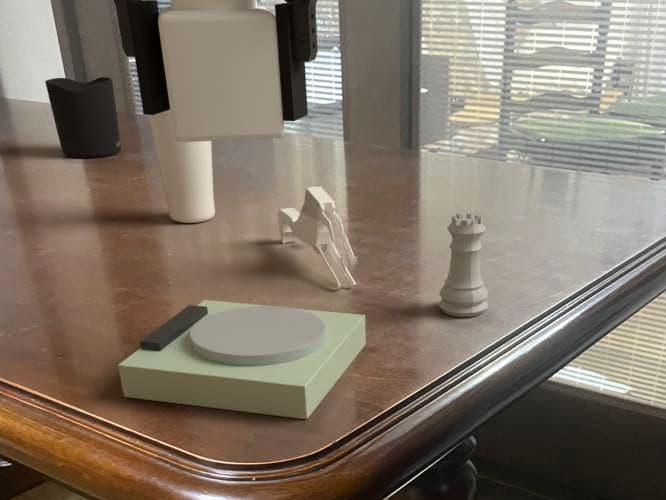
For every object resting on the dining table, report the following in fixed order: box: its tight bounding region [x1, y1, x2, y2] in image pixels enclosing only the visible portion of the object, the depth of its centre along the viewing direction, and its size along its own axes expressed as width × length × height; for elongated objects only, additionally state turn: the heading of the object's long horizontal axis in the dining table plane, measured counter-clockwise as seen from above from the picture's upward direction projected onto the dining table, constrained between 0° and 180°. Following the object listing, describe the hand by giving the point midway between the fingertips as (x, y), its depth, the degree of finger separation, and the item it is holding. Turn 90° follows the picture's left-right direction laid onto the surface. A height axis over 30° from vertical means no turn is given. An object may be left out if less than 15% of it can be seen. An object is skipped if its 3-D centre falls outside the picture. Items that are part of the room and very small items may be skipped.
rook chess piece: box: [437, 212, 489, 318], centre depth 76 cm, size 4×4×8 cm
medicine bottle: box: [158, 0, 285, 142], centre depth 57 cm, size 7×7×12 cm
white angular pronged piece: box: [277, 186, 359, 290], centre depth 87 cm, size 2×11×18 cm
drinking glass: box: [147, 110, 216, 224], centre depth 99 cm, size 7×7×15 cm
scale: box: [117, 299, 367, 420], centre depth 66 cm, size 14×14×3 cm
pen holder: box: [44, 76, 122, 159], centre depth 132 cm, size 9×9×10 cm
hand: (225, 114), depth 59 cm, fingers closed on medicine bottle, 9 cm apart
